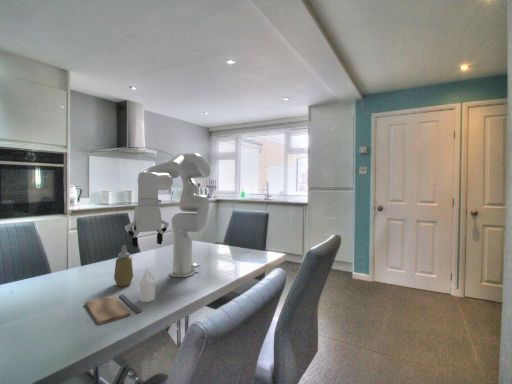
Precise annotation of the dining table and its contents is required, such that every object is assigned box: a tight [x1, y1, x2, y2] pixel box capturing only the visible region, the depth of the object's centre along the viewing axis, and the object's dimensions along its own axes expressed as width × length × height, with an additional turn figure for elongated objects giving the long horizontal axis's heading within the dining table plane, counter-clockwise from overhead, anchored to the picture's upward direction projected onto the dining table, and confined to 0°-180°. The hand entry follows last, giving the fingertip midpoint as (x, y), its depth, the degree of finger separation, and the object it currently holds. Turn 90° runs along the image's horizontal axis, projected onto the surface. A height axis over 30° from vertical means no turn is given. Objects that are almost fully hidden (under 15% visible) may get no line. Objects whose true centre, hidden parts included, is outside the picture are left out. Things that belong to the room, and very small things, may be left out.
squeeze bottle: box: [113, 245, 134, 287], centre depth 128 cm, size 8×8×18 cm
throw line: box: [118, 294, 142, 314], centre depth 108 cm, size 2×20×1 cm, turn 42°
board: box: [84, 295, 131, 325], centre depth 103 cm, size 10×20×1 cm, turn 42°
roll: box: [139, 269, 156, 303], centre depth 113 cm, size 6×12×6 cm
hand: (147, 245), depth 112 cm, fingers open, 9 cm apart
